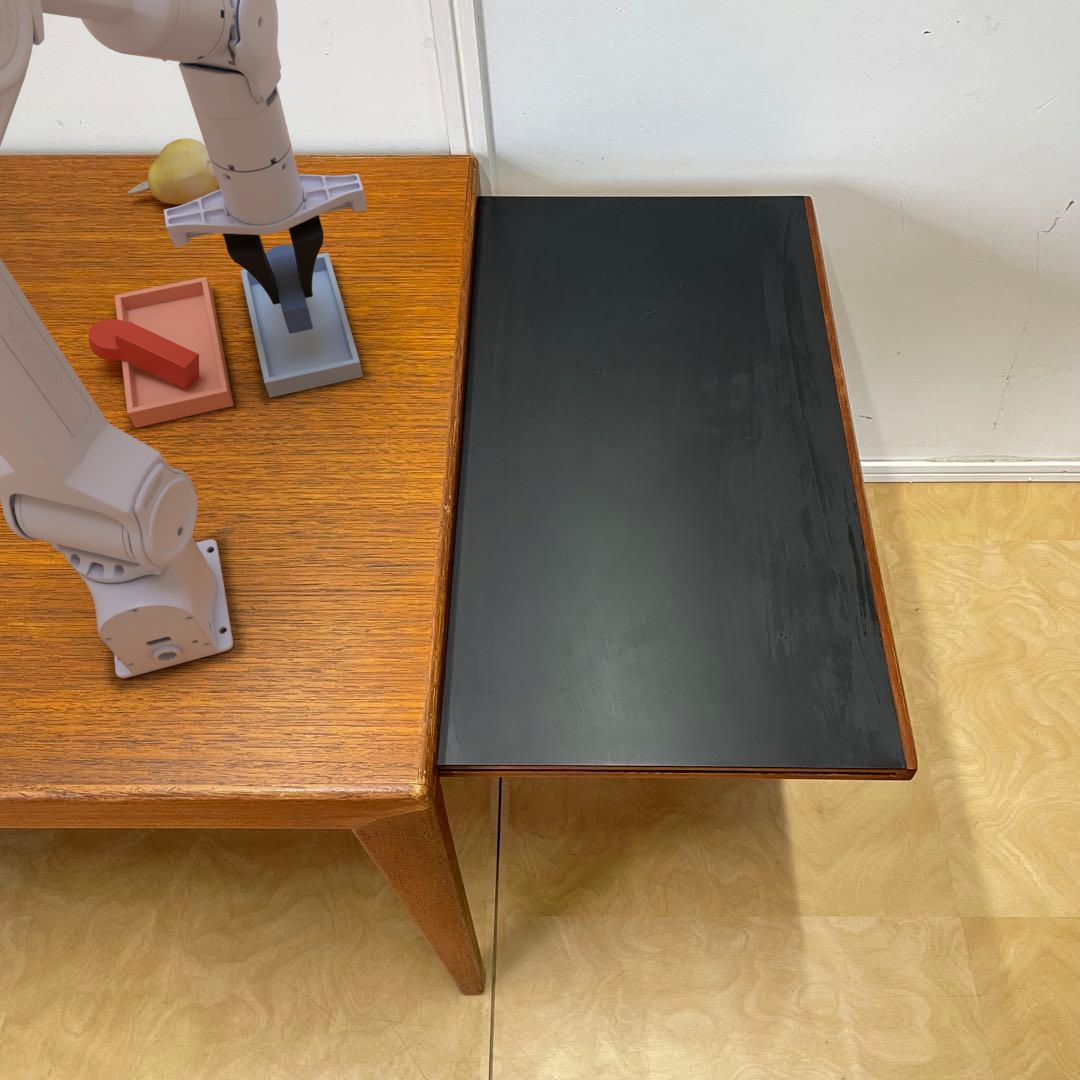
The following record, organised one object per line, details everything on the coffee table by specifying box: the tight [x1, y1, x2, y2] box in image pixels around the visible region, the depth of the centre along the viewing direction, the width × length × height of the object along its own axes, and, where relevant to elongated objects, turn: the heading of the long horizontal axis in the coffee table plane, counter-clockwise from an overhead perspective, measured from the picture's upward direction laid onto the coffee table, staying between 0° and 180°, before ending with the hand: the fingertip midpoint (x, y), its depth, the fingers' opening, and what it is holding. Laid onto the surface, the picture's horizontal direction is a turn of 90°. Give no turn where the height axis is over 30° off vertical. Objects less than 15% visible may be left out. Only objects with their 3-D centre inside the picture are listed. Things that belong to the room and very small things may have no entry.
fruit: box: [127, 137, 219, 205], centre depth 88 cm, size 6×6×10 cm
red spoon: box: [87, 318, 199, 389], centre depth 76 cm, size 9×4×3 cm, turn 68°
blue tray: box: [240, 252, 364, 398], centre depth 81 cm, size 14×8×2 cm, turn 18°
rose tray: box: [114, 276, 235, 429], centre depth 79 cm, size 14×8×2 cm, turn 18°
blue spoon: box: [265, 244, 313, 334], centre depth 77 cm, size 9×4×3 cm, turn 18°
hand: (291, 292), depth 76 cm, fingers closed on blue spoon, 2 cm apart
